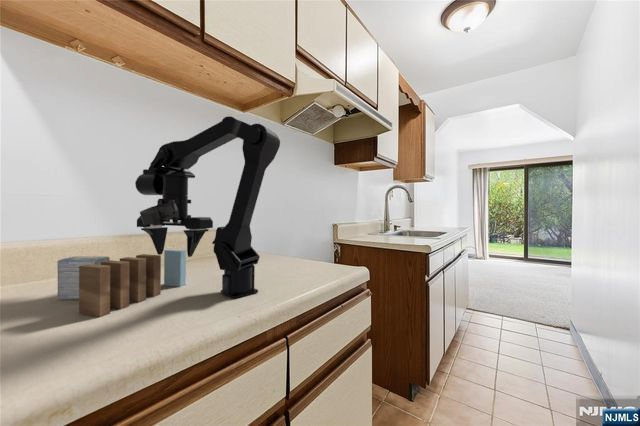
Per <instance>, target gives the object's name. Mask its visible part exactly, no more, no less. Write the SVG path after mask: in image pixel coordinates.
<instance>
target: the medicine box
mask: <svg viewBox="0 0 640 426" xmlns="http://www.w3.org/2000/svg"><path fill="white" fill-rule="evenodd" d="M110 258H111V257H110V256H99V255H98V256H96V255H95V256H94V255H93V256H92V255H91V256H90V255H89V256H87V255H85V256H84V255H83V256H82V255H79V256H77V255H76V256H69V257H65V258H61V259H58V260H57V263H56V264H57V268H56V269H57V300H79V266H82V265H88V264H95V265H101V262H104V261H109V260H111V259H110Z"/></svg>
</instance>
